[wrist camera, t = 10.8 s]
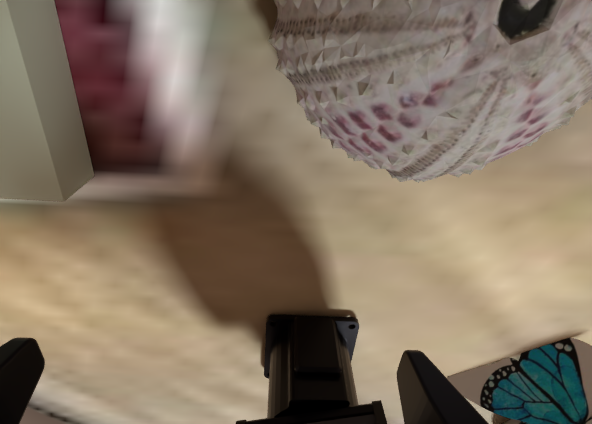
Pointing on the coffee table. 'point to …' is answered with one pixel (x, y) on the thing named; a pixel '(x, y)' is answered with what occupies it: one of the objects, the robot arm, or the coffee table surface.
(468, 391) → the decorative butterfly
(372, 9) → the sea urchin shell
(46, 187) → the sage base block
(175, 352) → the coffee table surface
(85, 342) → the coffee table surface
